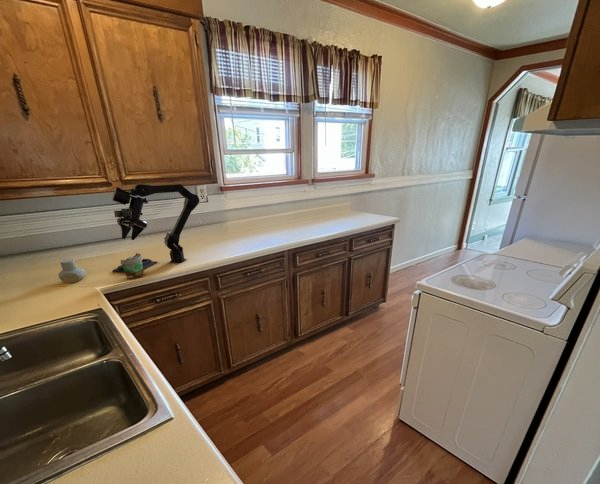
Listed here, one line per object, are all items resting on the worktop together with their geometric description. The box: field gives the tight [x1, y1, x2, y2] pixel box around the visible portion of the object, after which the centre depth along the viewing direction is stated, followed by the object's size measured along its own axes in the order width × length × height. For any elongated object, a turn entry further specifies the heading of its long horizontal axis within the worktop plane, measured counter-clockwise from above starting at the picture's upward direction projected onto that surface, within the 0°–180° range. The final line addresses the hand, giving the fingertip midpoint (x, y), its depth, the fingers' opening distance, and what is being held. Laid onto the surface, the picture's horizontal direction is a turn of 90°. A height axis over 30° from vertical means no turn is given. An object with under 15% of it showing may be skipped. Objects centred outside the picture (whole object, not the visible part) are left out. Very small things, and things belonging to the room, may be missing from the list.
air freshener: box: [58, 258, 87, 284], centre depth 155 cm, size 11×8×10 cm
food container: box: [120, 252, 145, 280], centre depth 160 cm, size 12×6×10 cm, turn 168°
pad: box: [112, 258, 158, 274], centre depth 174 cm, size 14×18×2 cm
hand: (127, 239), depth 162 cm, fingers open, 9 cm apart
